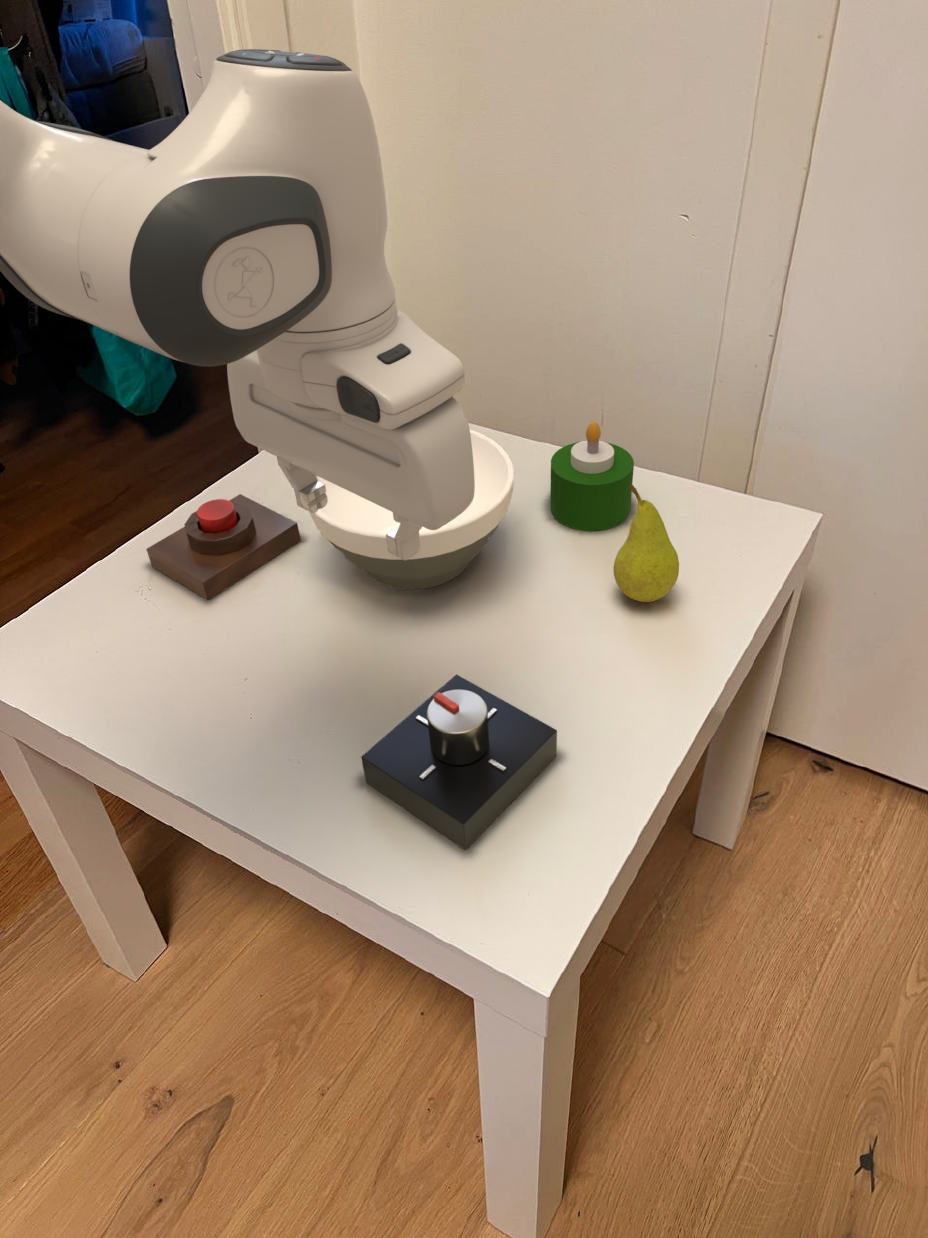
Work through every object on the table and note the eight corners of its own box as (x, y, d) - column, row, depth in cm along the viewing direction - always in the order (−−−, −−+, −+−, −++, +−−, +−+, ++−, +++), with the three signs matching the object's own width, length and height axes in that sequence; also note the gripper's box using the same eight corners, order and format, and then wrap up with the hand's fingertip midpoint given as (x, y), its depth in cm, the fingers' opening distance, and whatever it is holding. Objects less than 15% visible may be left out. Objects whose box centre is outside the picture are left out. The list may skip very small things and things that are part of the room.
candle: (586, 541, 93) (590, 453, 87) (534, 505, 99) (533, 420, 92) (647, 510, 97) (655, 424, 90) (593, 477, 102) (596, 393, 96)
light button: (216, 539, 91) (212, 524, 90) (193, 526, 93) (189, 511, 91) (245, 521, 93) (241, 506, 92) (222, 509, 95) (218, 494, 93)
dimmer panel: (465, 850, 67) (463, 823, 65) (365, 782, 72) (360, 755, 70) (556, 756, 73) (557, 728, 71) (458, 699, 78) (456, 672, 76)
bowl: (549, 530, 95) (550, 448, 89) (450, 647, 83) (443, 561, 76) (389, 483, 103) (380, 405, 97) (277, 583, 91) (258, 501, 85)
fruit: (687, 604, 85) (702, 493, 78) (631, 623, 84) (641, 512, 76) (653, 569, 90) (665, 461, 82) (599, 587, 88) (606, 477, 80)
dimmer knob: (501, 741, 70) (499, 706, 68) (459, 775, 68) (456, 740, 65) (459, 712, 73) (456, 677, 70) (418, 744, 70) (413, 709, 68)
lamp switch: (207, 600, 89) (198, 567, 87) (151, 566, 94) (140, 533, 91) (301, 540, 96) (294, 507, 93) (244, 510, 101) (236, 479, 98)
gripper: (187, 324, 62) (232, 499, 71) (411, 414, 51) (430, 606, 60) (261, 293, 65) (295, 464, 75) (485, 370, 55) (493, 559, 64)
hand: (357, 528), depth 67 cm, fingers open, 8 cm apart
